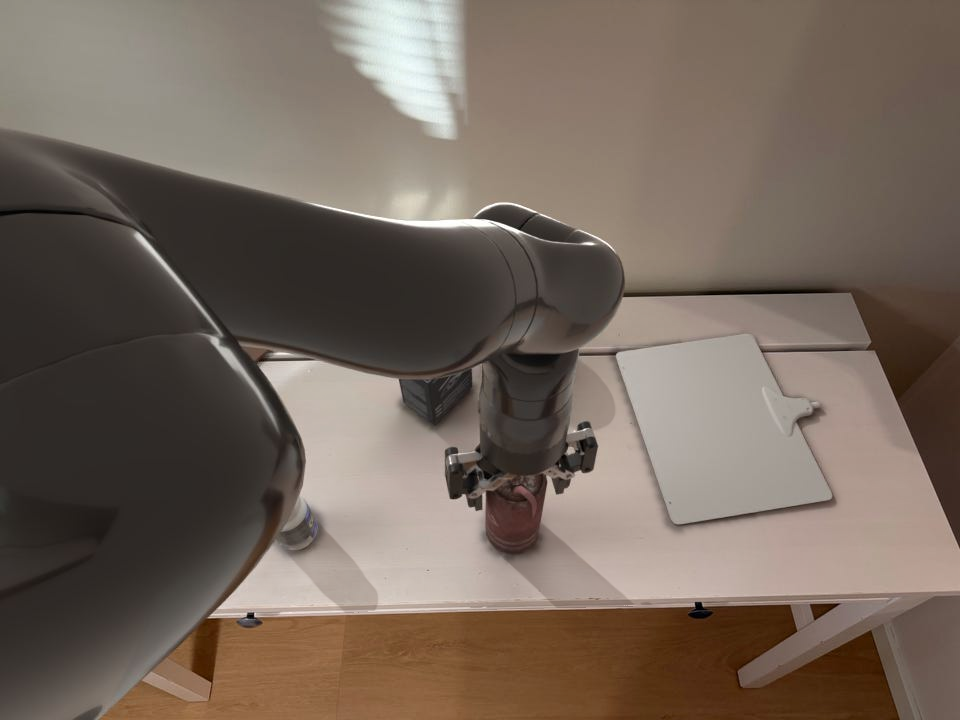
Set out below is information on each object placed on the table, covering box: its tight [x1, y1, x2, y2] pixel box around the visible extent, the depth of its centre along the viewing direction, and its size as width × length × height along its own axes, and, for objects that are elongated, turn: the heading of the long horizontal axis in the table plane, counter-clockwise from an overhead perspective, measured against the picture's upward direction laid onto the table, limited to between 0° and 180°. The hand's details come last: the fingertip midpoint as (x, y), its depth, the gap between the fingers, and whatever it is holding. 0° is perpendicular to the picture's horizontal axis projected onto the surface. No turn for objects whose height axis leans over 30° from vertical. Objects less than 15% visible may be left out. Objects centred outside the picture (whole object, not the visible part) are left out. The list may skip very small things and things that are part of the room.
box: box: [398, 368, 474, 426], centre depth 83 cm, size 8×6×11 cm
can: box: [484, 473, 548, 555], centre depth 71 cm, size 6×6×14 cm
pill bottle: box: [276, 493, 318, 551], centre depth 73 cm, size 5×5×8 cm
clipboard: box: [615, 333, 833, 526], centre depth 84 cm, size 25×24×1 cm
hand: (517, 493), depth 68 cm, fingers open, 8 cm apart
